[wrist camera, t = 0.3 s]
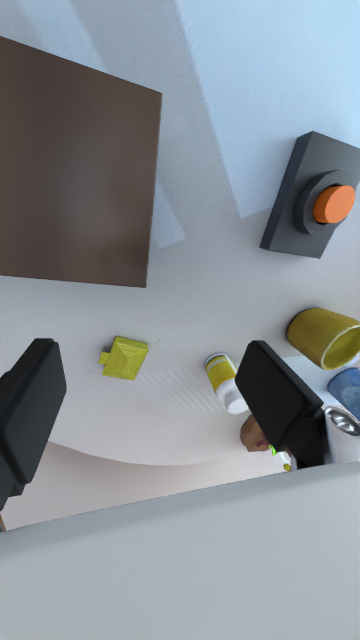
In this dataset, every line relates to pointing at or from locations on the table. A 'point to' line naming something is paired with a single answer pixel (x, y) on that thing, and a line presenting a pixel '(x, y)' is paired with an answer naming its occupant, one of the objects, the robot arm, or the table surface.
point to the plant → (257, 439)
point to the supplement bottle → (225, 382)
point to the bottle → (347, 390)
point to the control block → (309, 194)
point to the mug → (325, 337)
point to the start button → (334, 204)
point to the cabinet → (74, 170)
